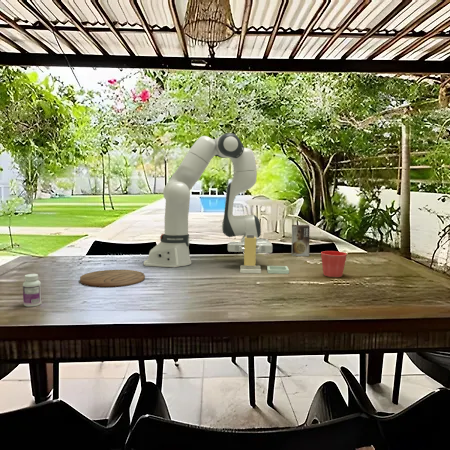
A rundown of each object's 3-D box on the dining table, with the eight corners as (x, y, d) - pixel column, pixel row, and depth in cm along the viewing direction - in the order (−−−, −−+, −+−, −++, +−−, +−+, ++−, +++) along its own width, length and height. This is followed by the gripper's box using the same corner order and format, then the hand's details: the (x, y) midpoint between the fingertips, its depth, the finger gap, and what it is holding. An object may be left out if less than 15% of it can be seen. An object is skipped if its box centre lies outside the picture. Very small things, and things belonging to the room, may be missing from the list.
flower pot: (347, 274, 190) (348, 251, 189) (343, 279, 180) (344, 255, 179) (323, 271, 195) (324, 250, 194) (317, 276, 185) (318, 253, 184)
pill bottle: (27, 302, 143) (25, 273, 142) (43, 302, 144) (42, 273, 143) (20, 307, 138) (19, 276, 137) (38, 306, 138) (37, 276, 137)
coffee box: (308, 254, 239) (309, 224, 238) (309, 256, 233) (310, 226, 231) (291, 253, 240) (291, 224, 238) (291, 255, 234) (292, 225, 232)
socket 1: (240, 272, 191) (240, 269, 190) (240, 268, 200) (240, 265, 200) (261, 273, 190) (261, 269, 190) (260, 268, 199) (260, 265, 199)
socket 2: (267, 273, 190) (268, 269, 190) (267, 269, 199) (267, 265, 199) (288, 273, 190) (289, 270, 190) (287, 269, 199) (287, 266, 199)
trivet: (66, 284, 168) (65, 280, 168) (105, 272, 192) (105, 267, 191) (122, 291, 160) (122, 285, 160) (156, 276, 183) (156, 272, 183)
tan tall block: (243, 265, 192) (244, 235, 191) (244, 263, 197) (244, 233, 196) (255, 265, 192) (256, 235, 191) (255, 263, 197) (256, 234, 196)
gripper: (227, 238, 207) (226, 242, 193) (271, 239, 206) (273, 243, 192) (227, 251, 208) (226, 256, 194) (271, 252, 207) (272, 257, 193)
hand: (250, 250), depth 193 cm, fingers closed on tan tall block, 5 cm apart
